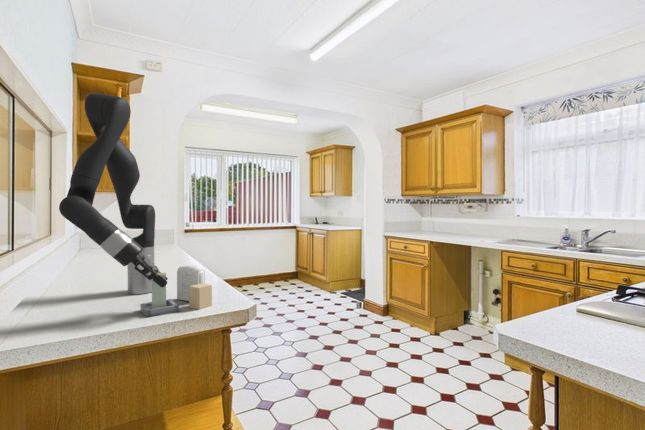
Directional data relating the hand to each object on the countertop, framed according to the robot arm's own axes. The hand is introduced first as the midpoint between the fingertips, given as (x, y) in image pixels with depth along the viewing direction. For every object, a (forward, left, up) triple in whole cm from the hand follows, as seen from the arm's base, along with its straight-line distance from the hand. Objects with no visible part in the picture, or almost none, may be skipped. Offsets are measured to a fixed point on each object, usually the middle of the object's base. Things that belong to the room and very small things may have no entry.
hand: (165, 283), depth 114 cm
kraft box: (+3, +10, -9) cm, 14 cm away
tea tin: (0, -2, -8) cm, 8 cm away
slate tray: (0, -2, -9) cm, 9 cm away
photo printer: (-7, +10, -9) cm, 15 cm away
